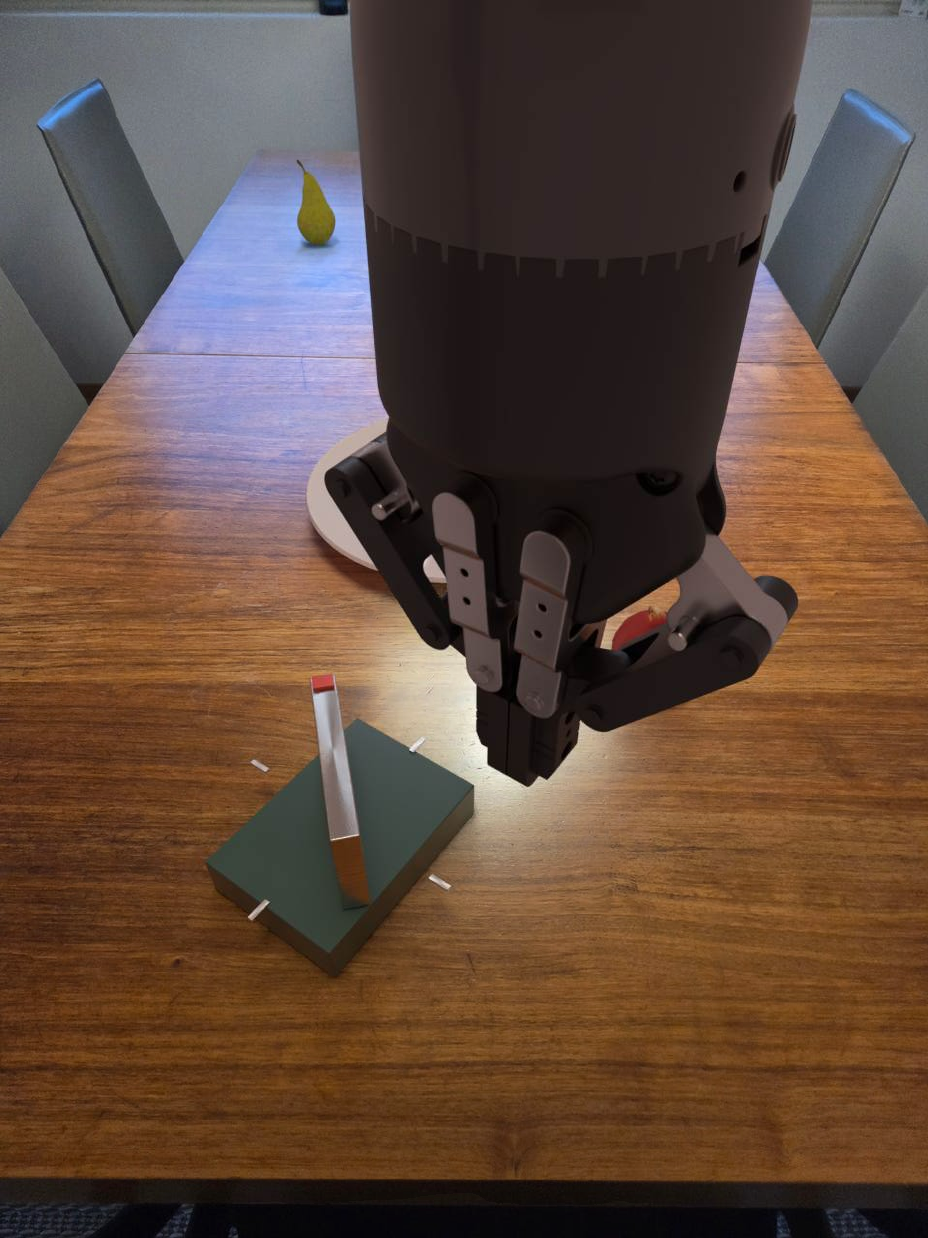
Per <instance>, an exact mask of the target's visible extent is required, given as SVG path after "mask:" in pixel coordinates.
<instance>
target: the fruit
mask: <svg viewBox="0 0 928 1238" xmlns="http://www.w3.org/2000/svg"><path fill="white" fill-rule="evenodd" d="M296 163H297V164H298V166H299V167H300V168H301V169H302V171H303V176H302V178H303V185H302V191H301V193H302V194H301V196H302V198H301V205H300V208H299V211H298V213H297V218H296V225H297V228H298V231H299V233H300V234H301V236H302V238H303V239H304V240H305V241H306V242H308V243H309V244H310V245H311V244H312V245H314V246H322V245H323V246H324V245H325V244H326V243H328V242H329V240H330V239H331V238H332V236H333V234H334V232H335V228H336V216H335V213H334V211H333V209H332V207H331V206H330V204H329V203H328V201H327V199H326V196H325V194H324V192H323V190H322V188H321V186H320V184H319V182H318V180H317V179H316V178H315V176H314V175H313V174H312V173H311V172H308V171H306V169H305V167H304V165H303V163H302V162H301V161H300V160H299V159H296Z"/></svg>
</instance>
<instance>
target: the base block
mask: <svg viewBox="0 0 928 1238" xmlns="http://www.w3.org/2000/svg"><path fill="white" fill-rule="evenodd" d="M344 734H345V740H346V747H347V753H348V759H349V766H350V772H351V778H352V785H353V791H354V797H355V804H356V810H357V817H358V823H359V829H360V836H361V842H362V849H363V856H364V862H365V869H366V876H367V882H368V889H369V896H370V902H371V903H370V904H369V905H365V906H360V907H355V908H350V909H345V910H344V909H343V907H342V902H341V897H340V891H339V886H338V881H337V876H336V871H335V865H334V860H333V855H332V850H331V845H330V839H329V831H328V823H327V815H326V807H325V799H324V791H323V783H322V775H321V768H320V760H319V754H317V755H316V756H315V757H314V758H313V759H311V761H310V762H308V763H307V764H306V766H305V767H304V768H303V769H302V770H300V772H299V773H297V774H296V775H295V776H294V777H293V778H292V779H291V780H290V781H289V782H288V783H286V784H285V786H283V787H282V789H281V790H279V791H278V792H277V793H276V794H275V795H274V796H273V797H271V799H269V801H267V802H266V803H265V804H264V805H263V806H262V807H261V808H260V809H259V810H258V811H257V812H255V814H254V815H253V816H251V818H250V819H249V820H248V821H246V822H245V824H243V825H242V826H241V827H240V828H239V829H238V830H237V831H236V832H235V833H234V834H233V835H232V836H230V837H229V838H228V839H227V840H226V841H225V842H224V843H223V844H222V845H221V846H220V847H219V848H218V849H217V850H216V851H215V852H214V853H213V854H212V855H211V856H210V857H208V859H207V860H205V865H206V868H207V870H208V873H209V875H210V878H211V882H212V884H213V887H214V889H215V890H217V891H218V892H219V893H220V894H222V895H223V896H225V897H226V898H227V899H228V900H230V901H231V902H233V903H234V904H235V905H236V906H238V907H239V908H241V909H242V910H243V911H244V912H246V913H247V914H249V915H248V916H247V919H248V920H249V921H250V922H252V923H253V922H254V921H255V920H256V921H258V922H259V923H260V924H262V925H263V926H264V927H265V928H267V929H268V930H269V931H271V932H272V933H274V934H275V935H276V936H277V937H279V938H280V939H282V940H283V941H284V942H286V943H287V944H288V945H289V946H291V947H292V948H293V949H295V950H296V951H297V952H299V954H301V955H303V956H304V957H306V958H307V959H308V960H309V961H310V962H312V963H313V964H315V965H316V966H317V967H319V969H322V971H324V972H325V973H327V974H328V975H329V976H331V977H332V978H334V979H335V978H337V976H338V975H339V974H340V973H341V972H342V970H343V969H344V968H345V967H346V966H347V964H348V963H349V962H350V961H351V959H353V957H354V956H355V955H356V954H357V953H358V952H359V950H360V949H361V948H362V947H363V945H364V944H365V943H366V942H367V940H369V938H370V937H371V936H372V935H373V934H374V932H375V931H376V930H377V929H378V927H379V926H380V925H381V924H382V923H383V922H384V920H385V919H386V918H387V917H388V915H389V914H390V913H392V911H393V910H394V909H395V907H396V906H397V905H398V904H399V903H400V901H401V900H402V899H403V898H404V896H405V895H406V894H407V893H408V892H409V891H410V889H411V888H412V887H413V886H414V884H415V883H416V882H417V881H418V880H419V879H420V877H421V876H422V875H423V874H424V873H425V871H427V869H428V868H429V867H430V866H431V864H432V863H433V862H434V861H435V860H436V858H437V857H438V856H439V855H440V854H441V852H442V851H443V850H444V849H445V848H446V847H447V845H448V844H449V843H450V842H451V841H452V840H453V838H454V837H455V836H456V835H457V833H458V832H459V831H460V830H461V829H462V828H463V826H464V825H465V824H466V823H467V821H468V820H470V818H471V817H472V815H473V814H474V813H475V784H473V783H472V782H469V781H468V780H466V779H464V778H462V777H461V776H459V775H457V774H456V773H454V772H452V771H451V770H449V769H447V768H445V767H444V766H441V765H440V764H438V763H436V762H435V761H434V760H431V759H430V758H428V757H426V756H425V755H422V754H421V753H419V752H417V751H418V750H419V748H420V747H421V746H422V745H423V744H424V743H425V742H426V741H427V739H426V738H425V737H423V736H421V737H420V738H419V739H418V740H417V741H416V742H415V743H414V744H413V745H412V746H411V747H409V746H407V745H405V744H404V743H402V742H400V741H398V740H397V739H395V738H393V737H392V736H390V735H387V734H386V733H384V732H382V731H381V730H380V729H378V728H376V727H374V726H372V725H370V724H369V723H367V722H365V721H363V720H362V719H360V718H359V717H357V718H355V720H353V721H352V722H351V723H350V724H349V725H348V726H347V727H346V728H344ZM249 764H250V765H252V766H253V767H255V768H256V769H257V770H260V771H261V772H262V773H264V774H267V773H268V772H270V768H269V767H267V766H266V765H264V764H262V762H260V761H258V760H256V759H254V758H253V759H252V760H251V761H250V762H249ZM428 880H429V881H430V882H432V883H433V884H435V885H436V886H438V887H439V888H440V889H442V890H444V891H445V892H447V893H448V892H449V891H450V890H451V889H452V885H450V884H449V883H447V882H446V881H444V880H442V879H441V878H439V877H438V876H436V875H435V874H433V873H431V874H430V876H429V877H428Z"/></svg>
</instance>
